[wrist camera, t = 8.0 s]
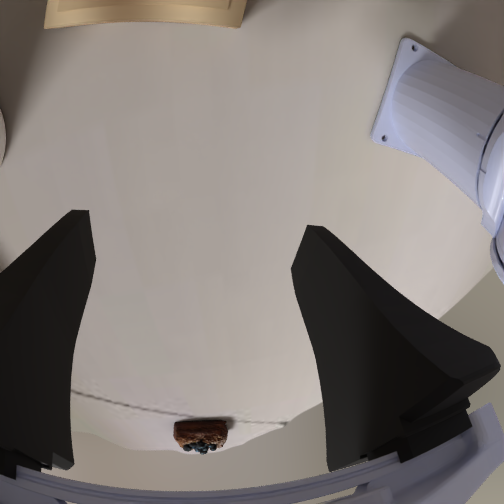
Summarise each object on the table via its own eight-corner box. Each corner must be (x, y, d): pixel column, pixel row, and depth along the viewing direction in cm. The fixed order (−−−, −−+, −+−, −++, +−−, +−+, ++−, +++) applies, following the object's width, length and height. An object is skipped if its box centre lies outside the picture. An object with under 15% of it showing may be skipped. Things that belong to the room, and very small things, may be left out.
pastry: (226, 416, 50) (230, 445, 46) (227, 432, 58) (230, 455, 53) (168, 419, 48) (169, 447, 44) (178, 434, 56) (179, 458, 52)
